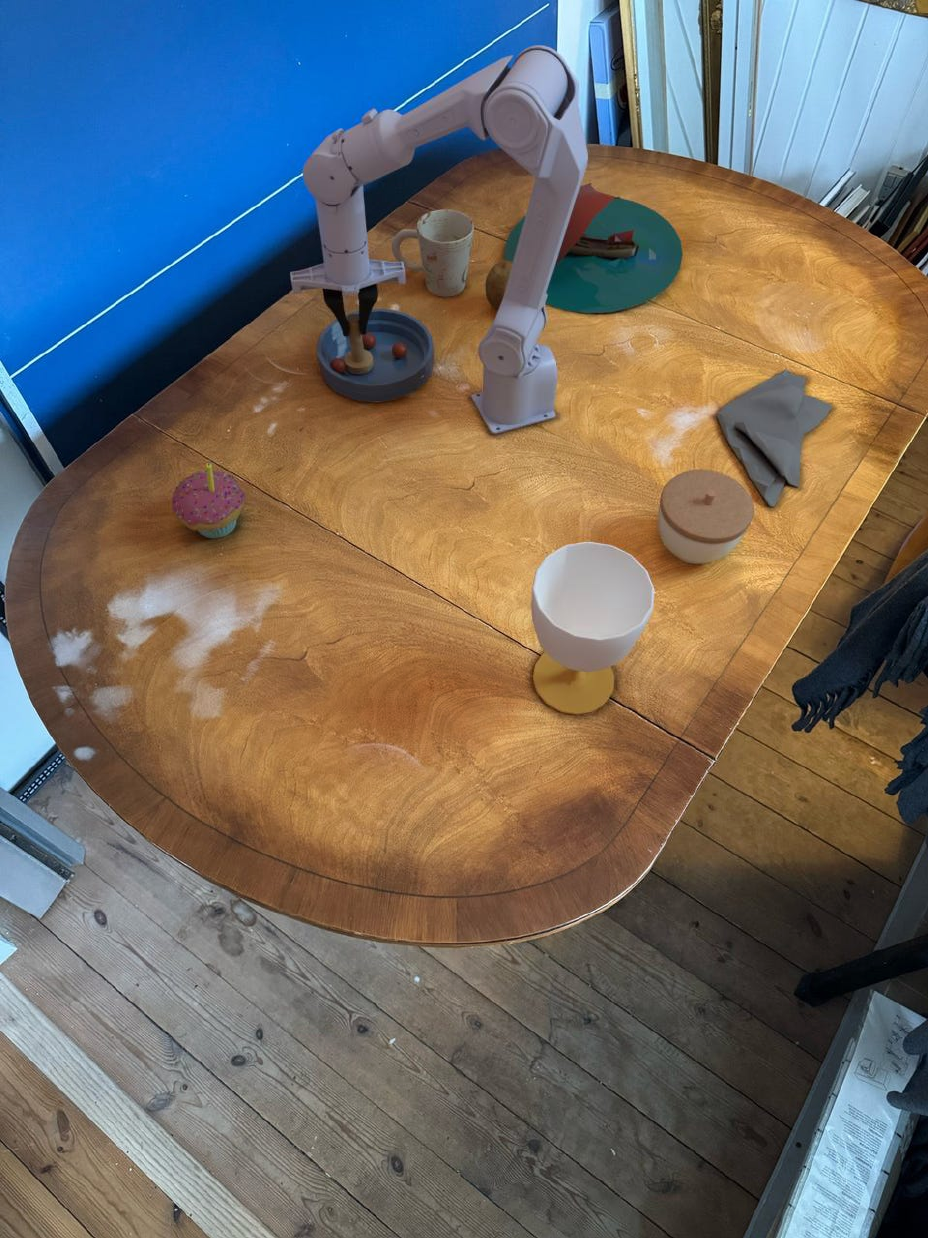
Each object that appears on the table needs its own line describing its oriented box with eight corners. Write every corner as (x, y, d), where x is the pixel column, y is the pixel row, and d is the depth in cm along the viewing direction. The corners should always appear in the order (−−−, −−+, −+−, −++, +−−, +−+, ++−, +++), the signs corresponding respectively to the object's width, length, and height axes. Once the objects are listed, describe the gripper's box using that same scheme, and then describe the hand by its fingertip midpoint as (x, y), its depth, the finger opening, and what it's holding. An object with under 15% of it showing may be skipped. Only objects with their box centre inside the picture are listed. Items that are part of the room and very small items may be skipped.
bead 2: (374, 340, 130) (372, 328, 128) (378, 350, 128) (377, 337, 127) (359, 344, 129) (358, 331, 127) (364, 353, 128) (362, 341, 126)
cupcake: (262, 508, 112) (244, 439, 102) (231, 559, 108) (208, 492, 98) (201, 491, 114) (177, 421, 104) (168, 540, 109) (139, 472, 99)
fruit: (533, 313, 134) (537, 266, 128) (500, 328, 132) (502, 281, 126) (509, 292, 137) (512, 245, 130) (476, 306, 135) (477, 259, 128)
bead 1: (339, 351, 124) (325, 359, 125) (344, 361, 123) (330, 369, 123) (345, 362, 126) (331, 369, 126) (350, 372, 125) (336, 379, 125)
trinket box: (633, 527, 111) (646, 475, 103) (705, 500, 114) (724, 448, 106) (678, 590, 106) (696, 541, 98) (754, 562, 108) (777, 511, 101)
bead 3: (404, 350, 129) (404, 337, 127) (409, 359, 127) (409, 347, 126) (390, 353, 128) (389, 341, 126) (395, 363, 127) (394, 350, 125)
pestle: (372, 354, 127) (366, 306, 121) (375, 372, 125) (369, 325, 119) (344, 357, 127) (336, 310, 120) (346, 376, 125) (339, 329, 118)
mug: (466, 305, 135) (467, 245, 127) (386, 294, 137) (382, 234, 128) (477, 272, 140) (478, 212, 131) (399, 262, 141) (396, 202, 133)
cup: (549, 741, 95) (567, 658, 80) (503, 655, 100) (511, 562, 86) (645, 703, 97) (678, 615, 83) (594, 621, 103) (617, 526, 89)
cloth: (749, 358, 129) (754, 346, 127) (843, 391, 125) (849, 378, 124) (684, 474, 116) (687, 461, 114) (785, 514, 113) (791, 502, 111)
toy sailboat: (514, 201, 151) (513, 137, 141) (682, 207, 148) (693, 142, 138) (494, 315, 137) (492, 254, 128) (679, 325, 134) (691, 262, 124)
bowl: (411, 318, 133) (410, 298, 130) (450, 387, 125) (450, 368, 122) (306, 343, 130) (303, 323, 127) (339, 416, 122) (336, 396, 119)
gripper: (287, 264, 107) (302, 355, 118) (406, 253, 109) (410, 344, 120) (283, 230, 111) (299, 321, 122) (399, 220, 112) (404, 311, 124)
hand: (354, 330), depth 121 cm, fingers closed on pestle, 2 cm apart
